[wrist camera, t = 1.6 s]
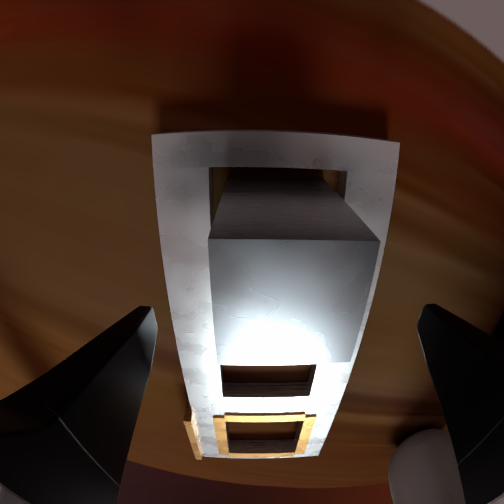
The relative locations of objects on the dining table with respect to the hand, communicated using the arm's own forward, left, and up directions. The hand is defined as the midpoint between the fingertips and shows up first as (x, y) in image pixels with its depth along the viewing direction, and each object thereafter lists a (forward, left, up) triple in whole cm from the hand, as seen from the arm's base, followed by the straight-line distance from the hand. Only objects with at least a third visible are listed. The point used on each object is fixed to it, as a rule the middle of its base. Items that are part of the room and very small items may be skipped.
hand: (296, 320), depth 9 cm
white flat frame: (0, +10, -8) cm, 13 cm away
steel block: (0, 0, -8) cm, 8 cm away
